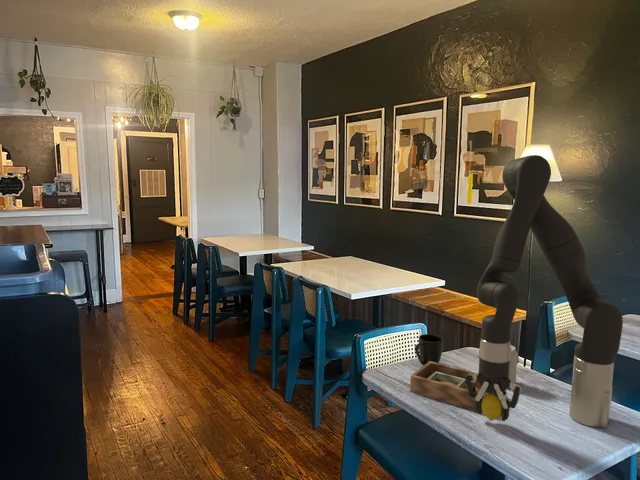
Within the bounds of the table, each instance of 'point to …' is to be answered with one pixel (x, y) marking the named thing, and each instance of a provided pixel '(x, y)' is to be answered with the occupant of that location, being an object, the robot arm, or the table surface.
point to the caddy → (444, 384)
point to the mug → (429, 348)
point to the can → (513, 364)
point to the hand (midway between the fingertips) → (491, 416)
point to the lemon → (491, 406)
